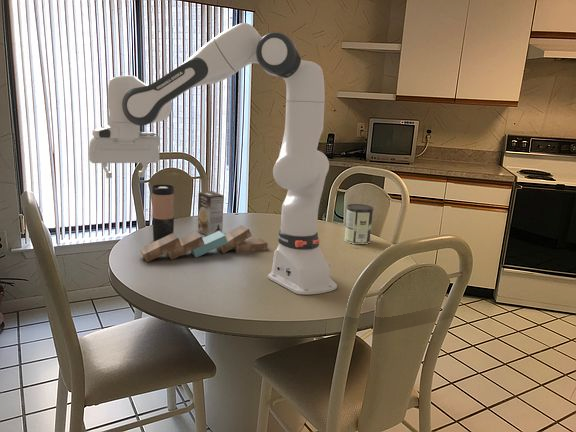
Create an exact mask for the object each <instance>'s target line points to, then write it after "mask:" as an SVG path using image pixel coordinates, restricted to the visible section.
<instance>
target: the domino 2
mask: <svg viewBox="0 0 576 432" xmlns="http://www.w3.org/2000/svg"><path fill="white" fill-rule="evenodd" d="M225 235H226V234H225V233H223V231H222V232H220V231H217V232H215V233H213V234H211V235H208V236H206V235H205V236H204V237H202V239H203V241H204V245H202V246H200V247H198V248H195V249H193V250H191V251H189V252H190V253H191V255H192V256H193V257H194V258H198V257H201V256H203V255H205V254H208V253H209V252H212V251H214V250H217V248H218V247H220V246H222V245H225V244H227V243H228V242H227V239H226V236H225Z"/></svg>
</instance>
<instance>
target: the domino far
mask: <svg viewBox="0 0 576 432" xmlns="http://www.w3.org/2000/svg"><path fill="white" fill-rule="evenodd" d="M179 239H180V238H179V237H178V236H177V235H176V234H175V233H174V232H173V233H172V234H169V235H167V236H165V237H163V238H161V239H159V240H157V241H152V242H151V243H149V244H147V245H145V246H142V247H140V248H139V251H140V253H141V254H142V257H143V258H144V260H145V261H146V262H147V263H149V262H151V261H153V260H154V259H155V260H156V259H158V258H159V257H162V255H165V254H167V252H169V251H171V250H173V249H175V248H177V247H179V246H181V243H180V241H179Z"/></svg>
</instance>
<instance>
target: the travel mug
mask: <svg viewBox="0 0 576 432" xmlns="http://www.w3.org/2000/svg"><path fill="white" fill-rule="evenodd" d="M151 187H152V189H151V190H152V191H151V193H152V197H151V198H152V199H151V201H152V210H151V211H152V214H151V215H152V216H151V218H152V238H153V242H155V241H157V240H159V239H161V238H163V237H165V236H167V235H169V234H172V233H174V230H175V229H174V228H175V227H174V226H175V194H174V193H175V187H174V186H173V185H172V184H154V185H152V186H151Z"/></svg>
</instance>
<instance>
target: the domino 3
mask: <svg viewBox="0 0 576 432" xmlns="http://www.w3.org/2000/svg"><path fill="white" fill-rule="evenodd" d="M224 235H225V236H226V239H227V242H228V243H227V244H225V245H222V246H220V247H218V248H216V250H218V251H219V252H221V253H222V254H226V253H227V252H228V251H230V250H232V248H233V247H235V246H236V245H238V244H240V243H241V242H243V241H245V240H248V239H249V238H251V237H253V236H252V232H251V231H250V229H249V228H248V227H247V226H244V225H242V224H240V225H239V226H237V227H236V228H234V229H232V230H231V231H229V232H227V233H226V234H224Z"/></svg>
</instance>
